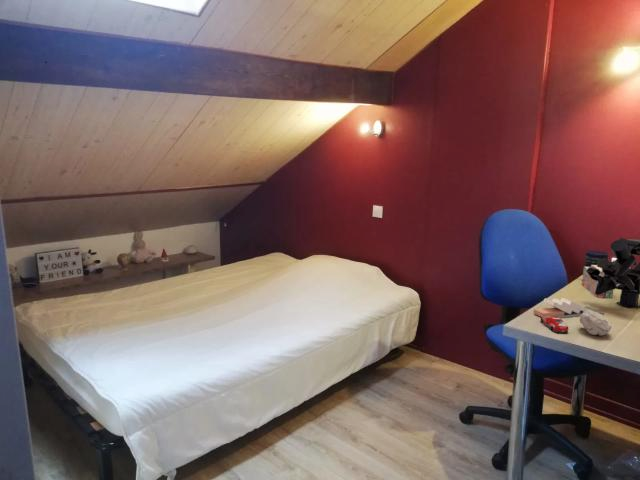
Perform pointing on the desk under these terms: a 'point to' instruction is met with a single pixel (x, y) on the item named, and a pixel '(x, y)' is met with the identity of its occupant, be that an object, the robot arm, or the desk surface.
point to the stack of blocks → (594, 284)
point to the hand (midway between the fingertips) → (596, 294)
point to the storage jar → (594, 257)
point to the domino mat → (577, 313)
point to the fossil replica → (594, 323)
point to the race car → (554, 324)
